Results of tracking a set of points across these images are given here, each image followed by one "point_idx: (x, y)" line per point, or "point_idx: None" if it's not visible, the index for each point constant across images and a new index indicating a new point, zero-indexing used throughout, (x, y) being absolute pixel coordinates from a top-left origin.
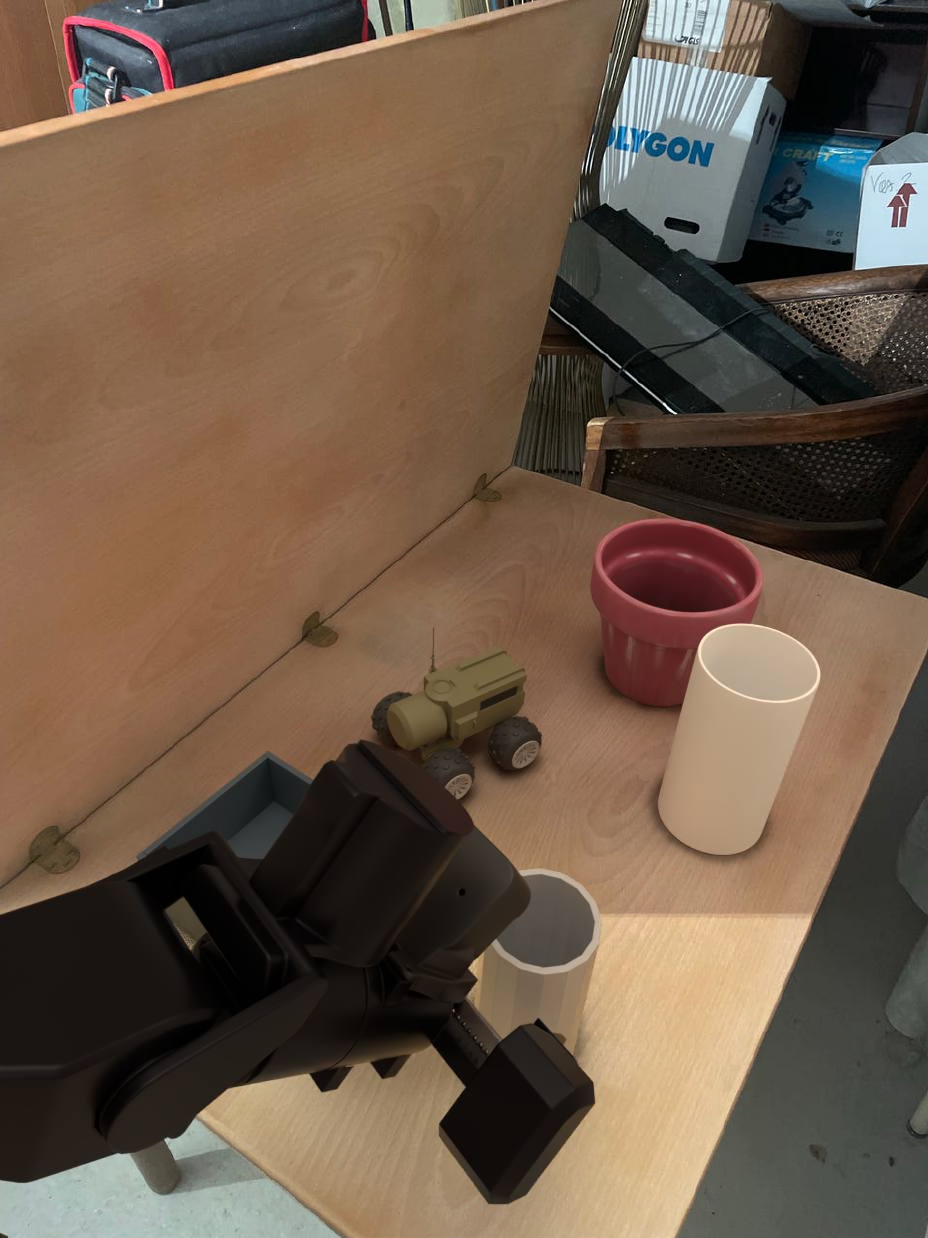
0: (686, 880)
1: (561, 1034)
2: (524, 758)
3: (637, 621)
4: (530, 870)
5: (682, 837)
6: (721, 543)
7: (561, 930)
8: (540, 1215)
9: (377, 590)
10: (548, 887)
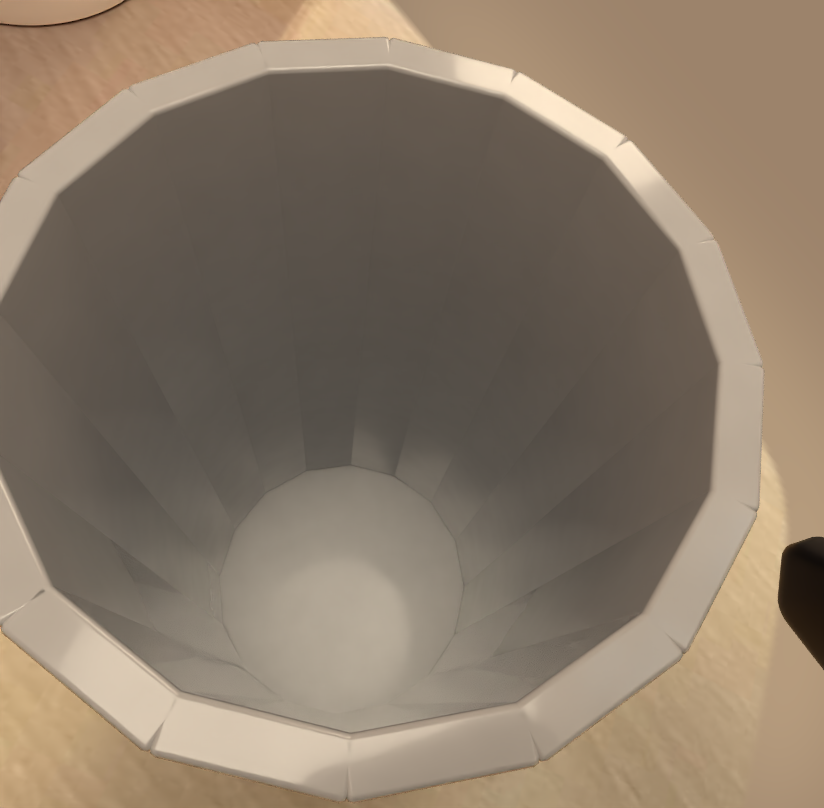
0: (163, 66)
1: (814, 548)
2: None
3: None
4: None
5: (65, 7)
6: None
7: (262, 331)
8: (730, 732)
9: None
10: (138, 228)
